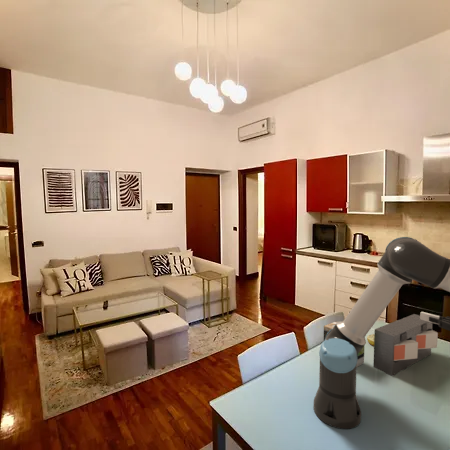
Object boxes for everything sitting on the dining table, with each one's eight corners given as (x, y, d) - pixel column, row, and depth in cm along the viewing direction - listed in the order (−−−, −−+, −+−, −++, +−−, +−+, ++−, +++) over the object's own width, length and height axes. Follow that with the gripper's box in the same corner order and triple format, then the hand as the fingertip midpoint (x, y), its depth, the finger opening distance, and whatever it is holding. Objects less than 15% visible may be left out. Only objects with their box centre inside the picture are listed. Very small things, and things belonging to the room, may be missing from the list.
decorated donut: (394, 345, 145) (394, 338, 145) (383, 351, 139) (384, 344, 139) (374, 337, 154) (374, 330, 154) (363, 343, 148) (363, 335, 148)
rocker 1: (392, 361, 120) (393, 345, 120) (387, 357, 123) (388, 341, 122) (417, 358, 122) (418, 342, 122) (412, 355, 125) (413, 339, 124)
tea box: (364, 363, 128) (365, 331, 128) (351, 370, 123) (352, 337, 122) (335, 349, 141) (336, 320, 140) (322, 355, 135) (323, 325, 134)
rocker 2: (414, 349, 129) (415, 334, 129) (409, 346, 132) (410, 332, 132) (437, 347, 131) (438, 332, 131) (432, 344, 134) (432, 330, 134)
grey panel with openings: (392, 376, 118) (394, 336, 117) (373, 367, 125) (374, 329, 124) (431, 354, 136) (433, 319, 135) (412, 347, 143) (414, 313, 142)
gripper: (495, 354, 89) (412, 328, 109) (508, 344, 96) (428, 321, 116) (496, 330, 88) (413, 308, 108) (509, 322, 96) (429, 303, 115)
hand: (421, 315), depth 112 cm, fingers closed
